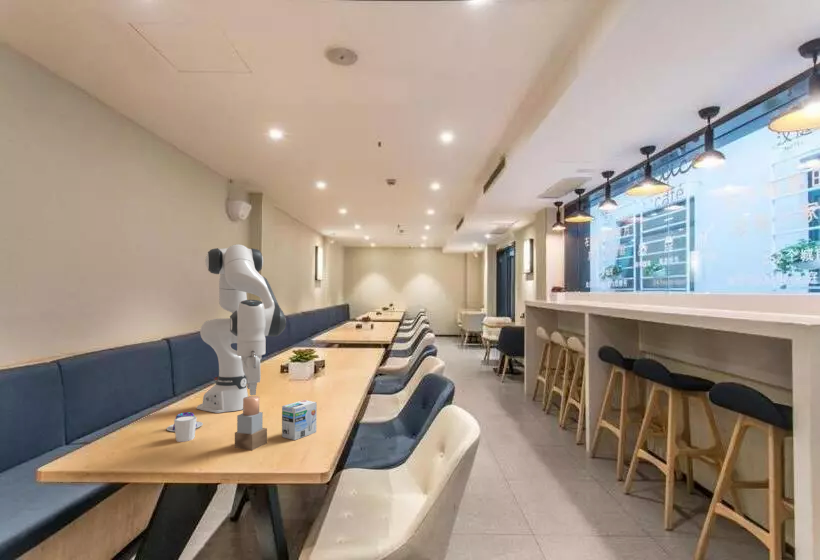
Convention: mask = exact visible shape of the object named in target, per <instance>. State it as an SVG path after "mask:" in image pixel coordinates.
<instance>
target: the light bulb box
mask: <svg viewBox="0 0 820 560" xmlns="http://www.w3.org/2000/svg"><path fill="white" fill-rule="evenodd" d="M316 433H317V401H311V400H307V399H302V400H299V401H295V402H292V403H288V404H285V405H282V406H281V437H282V438H285V439H289V440H293V441H296V440H299V439H301V438H304V437H307V436H310V435H313V434H316Z"/></svg>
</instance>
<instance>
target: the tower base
mask: <svg viewBox="0 0 820 560" xmlns="http://www.w3.org/2000/svg"><path fill="white" fill-rule="evenodd" d="M266 444H268V428H267V427H262V430H259V431H257V432H255V433H253V434H244V433H237V431H235V432H234V448H235V449H241V450H246V451H247V450H249V451H254V450H256V449H258V448H260V447H263V446H264V445H266Z"/></svg>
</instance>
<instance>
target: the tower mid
mask: <svg viewBox="0 0 820 560" xmlns="http://www.w3.org/2000/svg"><path fill="white" fill-rule="evenodd" d="M263 419H264V417H263V412H262V411H259V414H256V415H250V416H247V415H243V412H242V413H240V414H238V415H237V417H236V420H237V421H236V422H237V423H236V426H237V427H236V432H237V433H244V434H253V433H255V432H257V431H259V430H262V428H263Z"/></svg>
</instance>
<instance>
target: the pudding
mask: <svg viewBox="0 0 820 560" xmlns="http://www.w3.org/2000/svg"><path fill="white" fill-rule="evenodd" d="M184 416H195V414H194V413H193V412H191V411H190V412H189V411H187V412H181V413H178V414H177V415H176V416H175V418H174V420H175V419H176V418H179V417H184ZM203 425H204V424H203V422H201V421H197V420H196V428H195V429H198V428H200V427H202V426H203ZM166 430H167V431H169V432H175V424H174V423H173V424H171V425H168V426H167V427H166Z"/></svg>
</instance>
